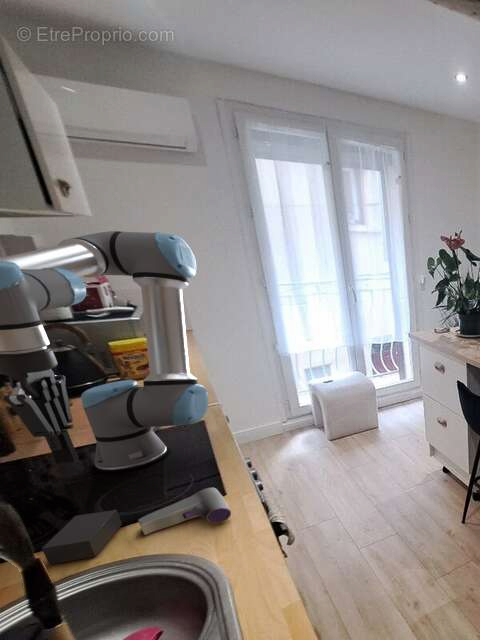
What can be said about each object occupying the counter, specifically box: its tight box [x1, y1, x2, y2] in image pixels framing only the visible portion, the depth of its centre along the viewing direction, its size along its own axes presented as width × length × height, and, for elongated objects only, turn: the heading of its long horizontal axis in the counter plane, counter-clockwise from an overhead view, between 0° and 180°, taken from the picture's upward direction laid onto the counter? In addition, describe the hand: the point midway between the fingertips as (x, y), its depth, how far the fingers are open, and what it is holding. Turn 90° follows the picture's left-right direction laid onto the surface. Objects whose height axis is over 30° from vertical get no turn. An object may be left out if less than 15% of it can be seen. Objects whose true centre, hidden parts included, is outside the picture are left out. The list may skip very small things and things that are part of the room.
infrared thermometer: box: [137, 487, 232, 536], centre depth 94 cm, size 5×12×15 cm
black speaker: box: [41, 509, 123, 566], centre depth 86 cm, size 4×7×11 cm
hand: (67, 461), depth 84 cm, fingers closed
